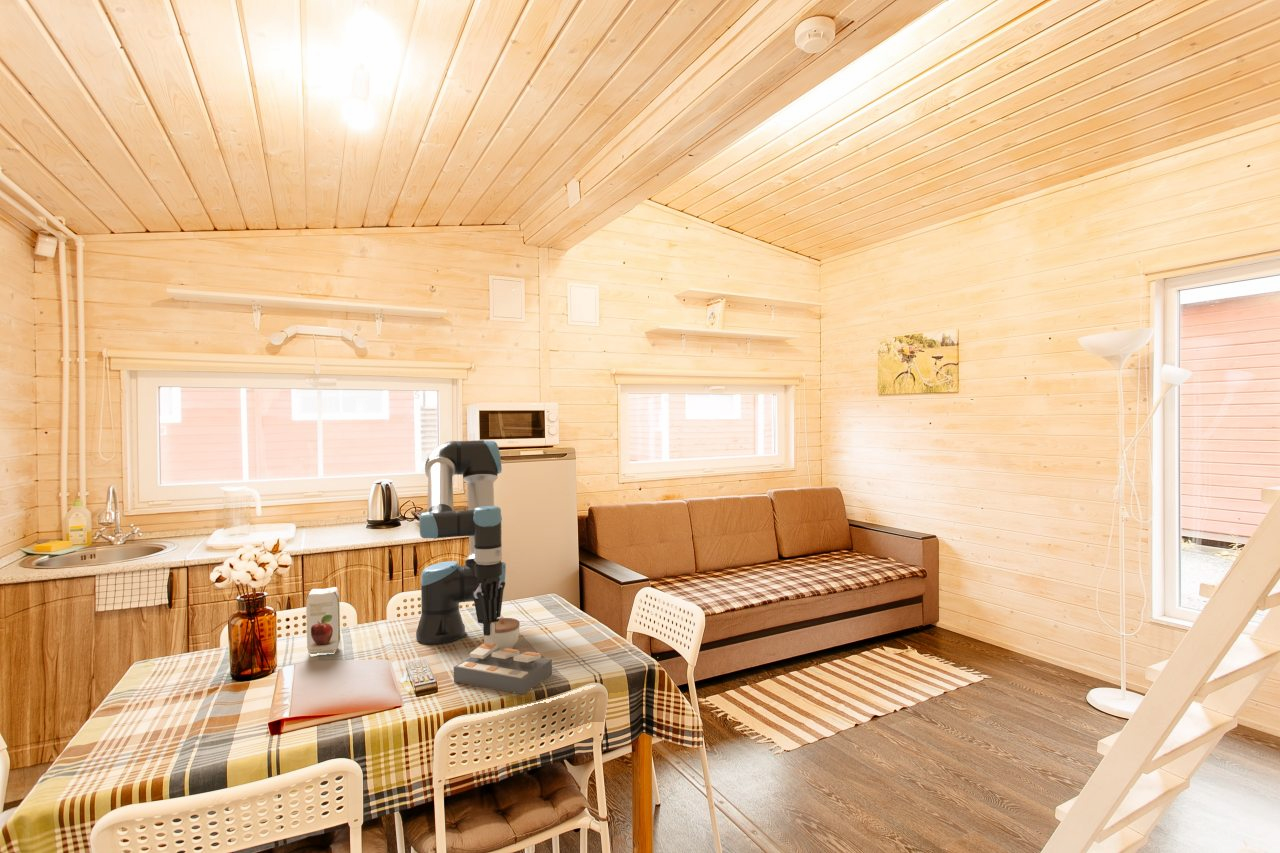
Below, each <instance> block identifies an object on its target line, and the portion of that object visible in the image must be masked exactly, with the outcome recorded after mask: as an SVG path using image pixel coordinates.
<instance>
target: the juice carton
mask: <svg viewBox="0 0 1280 853" xmlns="http://www.w3.org/2000/svg"><path fill="white" fill-rule="evenodd" d="M305 605H306V610H305V611H306V612H305V614H306V616H305V617H306V648H307V653H308V654H309V653H310V654H317V653H334V652H336V653H337V650H338V648H339V646H340V642H341V620H340V619H341V618H340V617H341V615H340V611H341V610H340V594H339V590H338V586H333V587H328V588H312V589H311V590H310V592H309V593H308V595H307V597H306V604H305Z"/></svg>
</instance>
